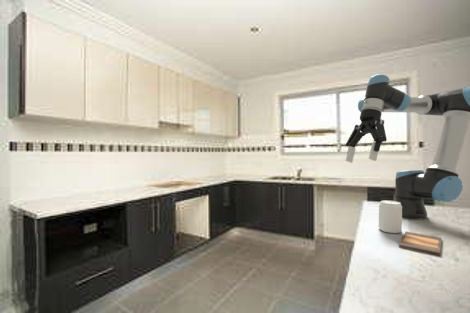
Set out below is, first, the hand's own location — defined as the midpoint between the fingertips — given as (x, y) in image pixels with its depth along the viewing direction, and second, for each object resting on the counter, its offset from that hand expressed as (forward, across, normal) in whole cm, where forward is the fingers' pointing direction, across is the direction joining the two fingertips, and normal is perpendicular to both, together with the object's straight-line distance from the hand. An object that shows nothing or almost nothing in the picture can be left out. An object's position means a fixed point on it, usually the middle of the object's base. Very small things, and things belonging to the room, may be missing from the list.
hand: (359, 160), depth 100 cm
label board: (+24, +11, +23) cm, 36 cm away
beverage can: (+23, -3, +23) cm, 33 cm away
